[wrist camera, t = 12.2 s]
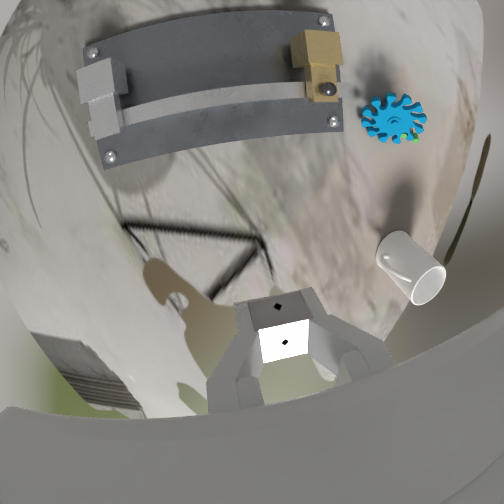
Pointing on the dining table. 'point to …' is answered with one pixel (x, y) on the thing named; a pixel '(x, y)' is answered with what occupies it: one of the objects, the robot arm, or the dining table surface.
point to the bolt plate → (212, 81)
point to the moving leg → (318, 62)
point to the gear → (394, 119)
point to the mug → (410, 267)
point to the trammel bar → (115, 84)
